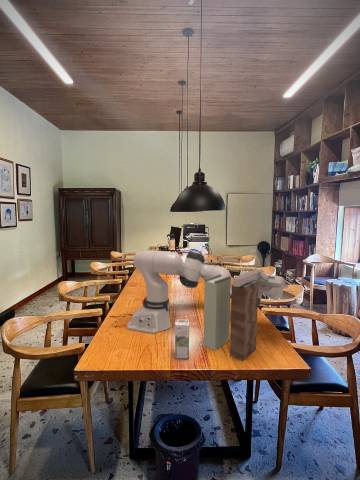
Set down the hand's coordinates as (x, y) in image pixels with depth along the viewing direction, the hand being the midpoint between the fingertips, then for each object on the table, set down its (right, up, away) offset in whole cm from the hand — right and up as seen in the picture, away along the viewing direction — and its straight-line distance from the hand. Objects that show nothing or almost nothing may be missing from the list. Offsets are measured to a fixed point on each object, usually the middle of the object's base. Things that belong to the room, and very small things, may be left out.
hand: (255, 273), depth 120 cm
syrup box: (-32, -33, -7) cm, 47 cm away
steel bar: (-4, -2, -5) cm, 7 cm away
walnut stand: (-7, -33, -4) cm, 34 cm away
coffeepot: (-5, -20, +117) cm, 119 cm away
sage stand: (-17, -32, +4) cm, 36 cm away
